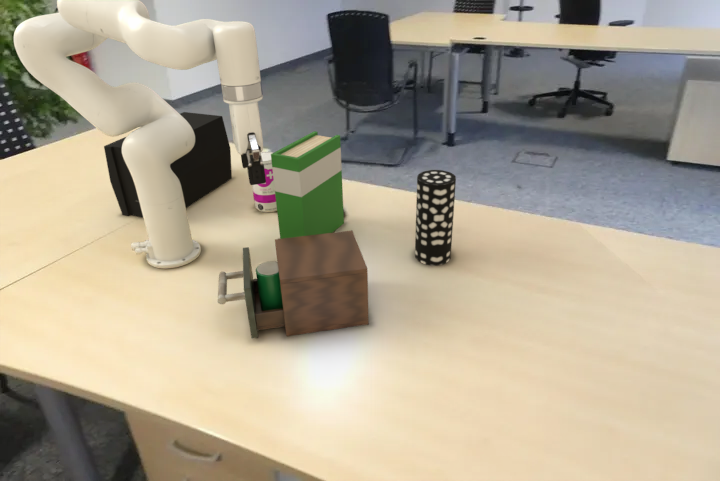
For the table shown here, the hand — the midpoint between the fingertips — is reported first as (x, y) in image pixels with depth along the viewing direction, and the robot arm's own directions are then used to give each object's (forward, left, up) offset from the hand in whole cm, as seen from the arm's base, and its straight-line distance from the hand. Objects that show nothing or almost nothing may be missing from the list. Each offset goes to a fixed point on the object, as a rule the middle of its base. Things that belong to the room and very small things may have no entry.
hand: (254, 174), depth 112 cm
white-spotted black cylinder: (+39, -3, -24) cm, 45 cm away
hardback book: (+13, +14, -24) cm, 30 cm away
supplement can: (+3, +33, -24) cm, 41 cm away
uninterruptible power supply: (-22, +48, -24) cm, 58 cm away
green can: (+1, -17, -22) cm, 27 cm away
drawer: (+2, -17, -23) cm, 28 cm away
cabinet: (+11, -17, -24) cm, 31 cm away
